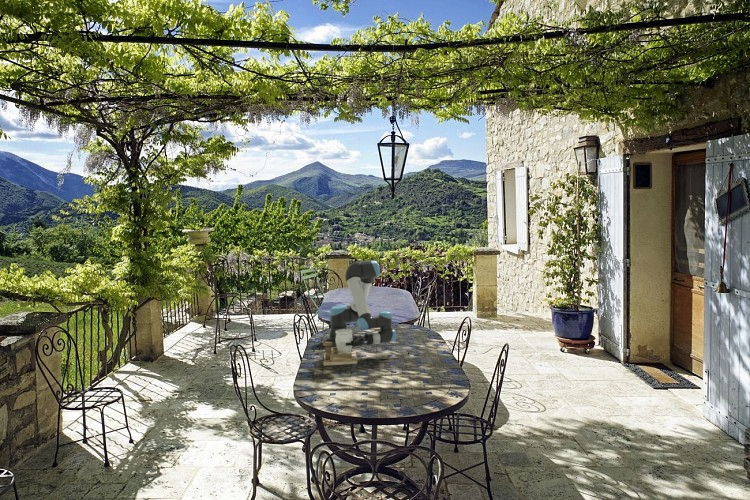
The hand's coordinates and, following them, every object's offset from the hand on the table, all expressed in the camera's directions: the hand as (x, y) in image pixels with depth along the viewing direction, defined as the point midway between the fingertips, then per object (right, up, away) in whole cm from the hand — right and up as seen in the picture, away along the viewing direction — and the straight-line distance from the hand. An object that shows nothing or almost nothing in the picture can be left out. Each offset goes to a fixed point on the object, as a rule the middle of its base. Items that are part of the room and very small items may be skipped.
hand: (337, 342), depth 324 cm
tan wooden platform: (+1, -10, +1) cm, 10 cm away
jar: (+4, -8, +2) cm, 9 cm away
